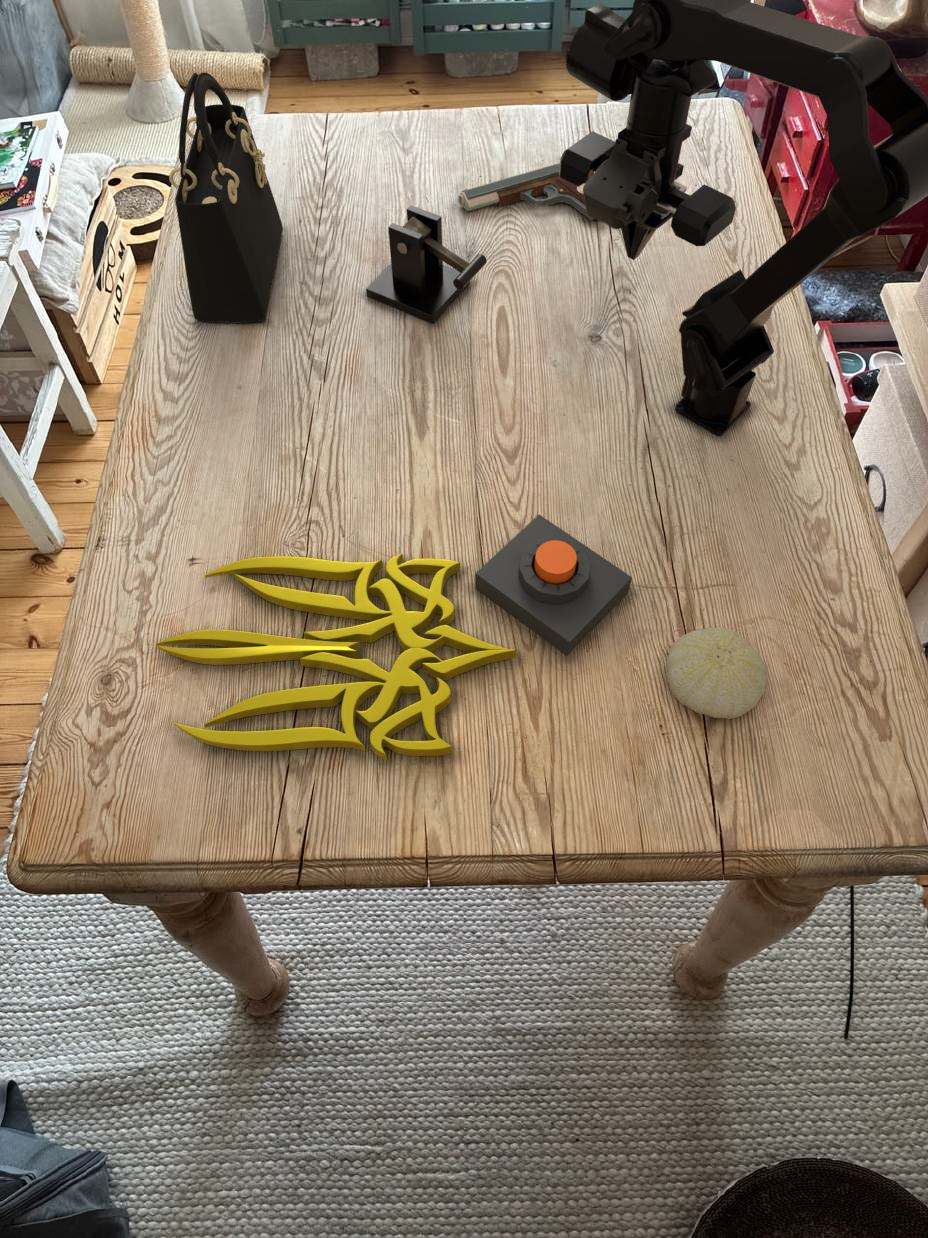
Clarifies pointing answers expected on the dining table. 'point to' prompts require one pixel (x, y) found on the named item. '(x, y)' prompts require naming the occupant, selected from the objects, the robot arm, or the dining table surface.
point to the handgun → (526, 191)
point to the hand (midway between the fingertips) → (633, 256)
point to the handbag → (225, 211)
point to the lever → (448, 255)
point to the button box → (552, 587)
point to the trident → (344, 655)
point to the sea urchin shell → (716, 672)
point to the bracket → (416, 272)
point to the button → (555, 562)
